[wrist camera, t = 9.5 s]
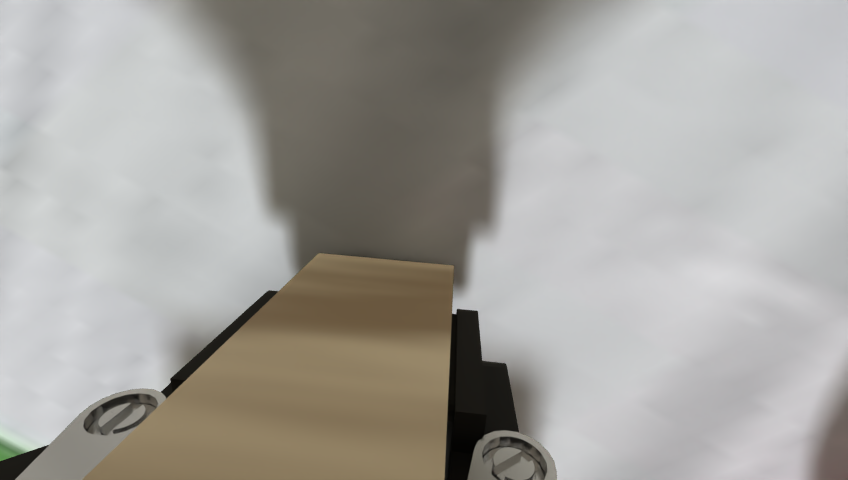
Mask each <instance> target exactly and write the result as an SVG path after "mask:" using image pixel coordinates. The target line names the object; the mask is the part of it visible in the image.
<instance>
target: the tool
mask: <svg viewBox="0 0 848 480" xmlns="http://www.w3.org/2000/svg"><path fill="white" fill-rule="evenodd" d="M453 277H454V266H453V265H442V264H431V263H420V262H409V261H399V260H388V259H377V258H366V257H355V256H345V255H334V254H323V253H318V254H317V255H316V256H315V257H314V258H313V259H312V260H311V261H310V262H309V263H308V264H307V265H306V266H305V267H304V268H303V269H302V270H301V271H299V272H298V273H297V274H296V275H295V276H294V277H293V278H292V279H291V280H290V281H289V282H288V283H287V284H286V285H285V286H284V287H283V288H282V289H281V290H280V291H279V292H278V293H276V294H275V295H274V296H273V297H272V298H271V299H270V300H269V301H268V302H267V303H266V304H265V305H264V306H263V307H262V308H261V309H260V310H259V311H258V312H257V313H256V314H255V315H253V316H252V317H251V318H250V319H249V320H248V321H247V322H246V323H245V324H244V325H243V326H242V327H241V328H240V329H239V330H238V331H237V332H236V333H235V334H234V335H233V336H232V337H230V338H229V339H228V340H227V341H226V342H225V343H224V344H223V345H222V346H221V347H220V348H219V349H218V350H217V351H216V352H215V353H214V354H213V355H212V356H211V357H210V358H209V359H207V360H206V361H205V362H204V363H203V364H202V365H201V366H200V367H199V368H198V369H197V370H196V371H195V372H194V373H193V374H192V375H191V376H190V377H189V378H188V379H187V380H186V381H184V382H183V383H182V384H181V385H180V386H179V387H178V388H177V389H176V390H175V391H174V392H173V393H172V394H171V395H170V396H169V397H168V398H167V399H166V400H165V401H164V402H163V403H161V404H160V405H159V406H158V407H157V408H156V409H155V410H154V411H153V412H152V413H151V414H150V415H149V416H148V417H147V418H146V419H145V420H144V421H143V422H142V423H141V424H140V425H138V426H137V427H136V428H135V429H134V430H133V431H132V432H131V433H130V434H129V435H128V436H127V437H126V438H125V439H124V440H123V441H122V442H121V443H120V444H119V445H118V446H117V447H115V448H114V449H113V450H112V451H111V452H110V453H109V454H108V455H107V456H106V457H105V458H104V459H103V460H102V461H101V462H100V463H99V464H98V465H97V466H96V467H95V468H94V469H92V470H91V471H90V472H89V473H88V474H87V475H86V476H85V477H84V478H83V479H82V480H444V479H445V456H446V434H447V412H448V389H449V367H450V344H451V322H452V300H453Z"/></svg>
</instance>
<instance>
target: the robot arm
mask: <svg viewBox="0 0 848 480" xmlns="http://www.w3.org/2000/svg"><path fill="white" fill-rule="evenodd" d="M278 292H279V291H267V292H266V293H265V294H264V295H263V296H262V297H261V298H259V299H258V300H257V301H256V302H255V303H254V304H253V305H252V306H251V307H249V308H248V309H247V310H246V311H245V312H244V313H243V314H242V315H241V316H239V317H238V318H237V319H236V320H235V321H234V322H233V323H232V324H231V325H230V326H228V327H227V328H226V329H225V330H224V331H223V332H222V333H221V334H220V335H218V336H217V337H216V338H215V339H214V340H213V341H212V342H211V343H210V344H208V345H207V346H206V347H205V348H204V349H203V350H202V351H201V352H200V353H199V354H197V355H196V356H195V357H194V358H193V359H192V360H191V361H190V362H189V363H187V364H186V365H185V366H184V367H183V368H182V369H181V370H180V371H179V372H177V373H176V374H175V375H174V376H173V377H172V378H171V383H170V384H169V385H168V386H167V387H166V388H165V389H164V390H163V391H161V392H159V391H156V390H154V389H144V388H142V389H132V390H127V391H123V392H119V393H115V394H113V395H110V396H108V397H105V398H103V399H101V400H99V401H97V402H95V403H94V404H92V405H90V406H89V407H88V408H86V409H85V410H84V411H83V412H82V413H80V414H79V415H78V416H77V417H76V418H75V419H74V420H73V421H72V422H71V423H70V424H69V425H68V426H67V427H66V428H65V430H64V431H63V432H62V433H61V434H60V435H59V436H58V437H57V438H56V439H55V440H54V441H53V442H52V443H51V444H50V445H47V446H44V447H41V448H38V449H35V450H32V451H29V452H26V453H23V454H21V455H18V456H15V457H12V458H9V459H6V460H3V461H0V480H82V479H83V478H84V477H85V476H86V475H87V474H88V473H89V472H90V471H91V470H92V469H94V468H95V467H96V466H97V465H98V464H99V463H100V462H101V461H102V460H103V459H104V458H105V457H106V456H107V455H108V454H109V453H110V452H111V451H112V450H113V449H114V448H115V447H117V446H118V445H119V444H120V443H121V442H122V441H123V440H124V439H125V438H126V437H127V436H128V435H129V434H130V433H131V432H132V431H133V430H134V429H135V428H136V427H137V426H138V425H140V424H141V423H142V422H143V421H144V420H145V419H146V418H147V417H148V416H149V415H150V414H151V413H152V412H153V411H154V410H155V409H156V408H157V407H158V406H159V405H160V404H161V403H163V402H164V401H165V400H166V399H167V398H168V397H169V396H170V395H171V394H172V393H173V392H174V391H175V390H176V389H177V388H178V387H179V386H180V385H181V384H182V383H183V382H184V381H186V380H187V379H188V378H189V377H190V376H191V375H192V374H193V373H194V372H195V371H196V370H197V369H198V368H199V367H200V366H201V365H202V364H203V363H204V362H205V361H206V360H207V359H209V358H210V357H211V356H212V355H213V354H214V353H215V352H216V351H217V350H218V349H219V348H220V347H221V346H222V345H223V344H224V343H225V342H226V341H227V340H228V339H229V338H230V337H232V336H233V335H234V334H235V333H236V332H237V331H238V330H239V329H240V328H241V327H242V326H243V325H244V324H245V323H246V322H247V321H248V320H249V319H250V318H251V317H252V316H253V315H255V314H256V313H257V312H258V311H259V310H260V309H261V308H262V307H263V306H264V305H265V304H266V303H267V302H268V301H269V300H270V299H271V298H272V297H273V296H274V295H275V294H276V293H278ZM444 480H557V471H556V467H555V463H554V460H553V458H552V457H551V455H550V454H549V452H548V451H547V450H546V449H545V448H544V447H543V446H542V445H541V444H540V443H539V442H537V441H536V440H534V439H532V438H531V437H529V436H527V435H524V434H521V433H519V430H518V425H517V419H516V414H515V409H514V403H513V398H512V392H511V387H510V381H509V376H508V370H507V366H506V364H505V363H496V362H486V361H482V355H481V343H480V332H479V320H478V311H472V310H461V309H457V314H452V322H451V344H450V367H449V389H448V412H447V434H446V456H445V479H444Z"/></svg>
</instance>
